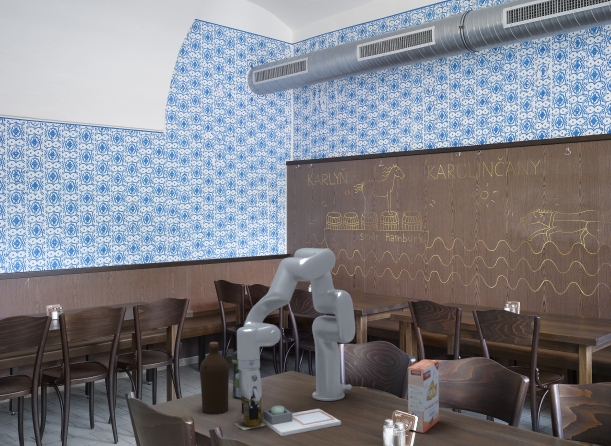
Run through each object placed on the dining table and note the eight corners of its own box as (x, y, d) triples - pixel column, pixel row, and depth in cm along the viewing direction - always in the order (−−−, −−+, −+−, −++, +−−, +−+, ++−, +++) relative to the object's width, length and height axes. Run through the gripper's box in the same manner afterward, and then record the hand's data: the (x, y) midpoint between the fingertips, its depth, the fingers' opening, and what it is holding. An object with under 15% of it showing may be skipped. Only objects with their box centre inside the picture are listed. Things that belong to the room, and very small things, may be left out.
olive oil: (227, 414, 225) (226, 345, 224) (198, 415, 225) (196, 345, 225) (231, 405, 235) (230, 339, 235) (203, 406, 235) (201, 340, 235)
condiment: (266, 425, 212) (265, 390, 212) (244, 430, 207) (243, 394, 207) (255, 419, 218) (255, 385, 218) (234, 424, 213) (233, 389, 213)
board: (319, 411, 226) (318, 400, 226) (340, 424, 211) (340, 412, 211) (262, 422, 216) (262, 410, 216) (281, 436, 201) (281, 423, 201)
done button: (280, 413, 217) (280, 405, 217) (286, 417, 213) (286, 408, 213) (269, 415, 215) (269, 406, 215) (274, 419, 211) (274, 410, 211)
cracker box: (425, 434, 200) (424, 369, 200) (407, 431, 204) (406, 367, 203) (440, 421, 212) (439, 360, 212) (423, 418, 216) (422, 358, 215)
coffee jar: (243, 391, 254) (242, 346, 254) (259, 393, 250) (258, 347, 250) (229, 397, 246) (228, 350, 246) (246, 400, 242) (244, 352, 242)
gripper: (268, 367, 206) (270, 421, 207) (249, 357, 222) (251, 407, 222) (247, 370, 203) (248, 425, 203) (229, 360, 219) (231, 411, 219)
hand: (250, 415), depth 213 cm, fingers closed on condiment, 6 cm apart
